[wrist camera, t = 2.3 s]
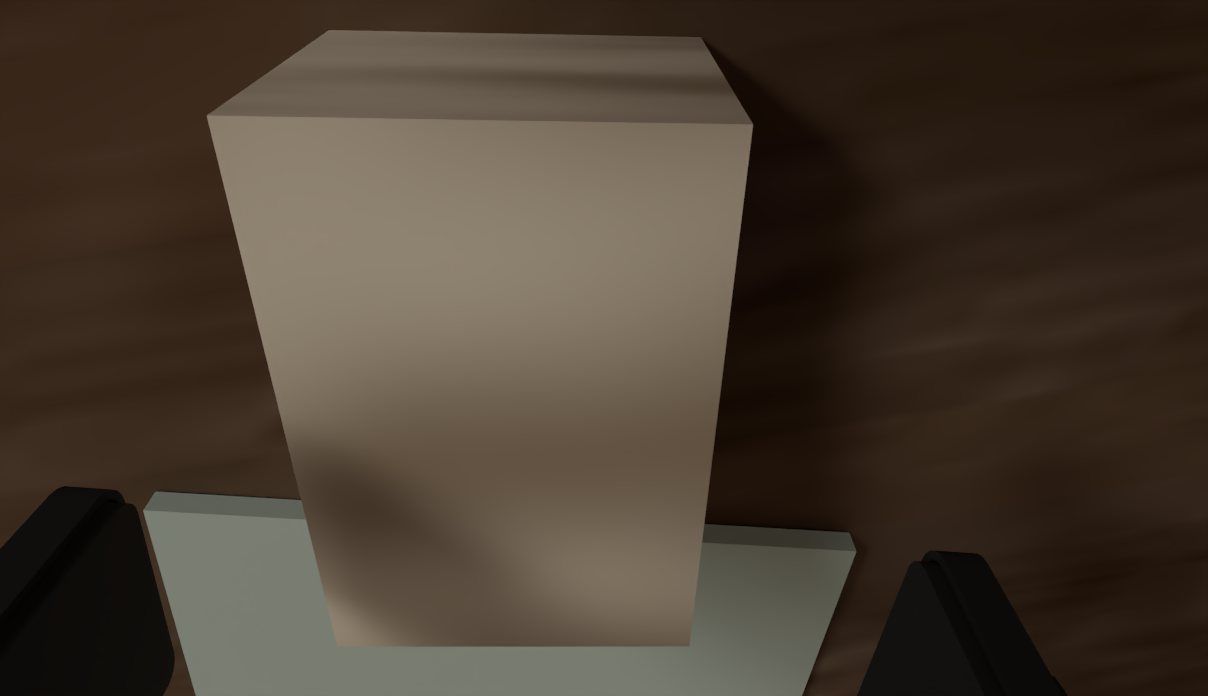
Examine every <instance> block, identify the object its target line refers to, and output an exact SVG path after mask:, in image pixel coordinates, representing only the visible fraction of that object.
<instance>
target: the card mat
mask: <svg viewBox="0 0 1208 696" xmlns="http://www.w3.org/2000/svg"><path fill="white" fill-rule="evenodd" d="M143 512H144V515H145V519H146V522H147V526H148V529H149V533H150V536H151V540H152V543H153V547H154V550H155V554H156V557H157V561H158V564H159V568H160V571H161V575H162V578H163V582H164V585H165V589H166V592H167V596H168V599H169V603H170V607H171V610H172V614H173V617H174V621H175V624H176V628H177V631H178V635H179V638H180V642H181V645H182V649H183V652H184V656H185V659H186V663H187V666H188V670H189V673H190V677H191V680H192V684H193V687H194V691H195V694H196V696H802V694H803V692H804V689H805V687H806V684H807V681H808V679H809V676H810V673H811V671H812V668H813V665H814V663H815V660H816V657H817V655H818V652H819V649H820V647H821V644H822V642H823V639H824V636H825V634H826V631H827V628H828V626H829V623H830V620H831V618H832V615H833V612H834V610H835V607H836V604H837V602H838V599H839V597H840V594H841V591H842V589H843V586H844V583H845V581H846V578H847V575H848V573H849V570H850V567H851V565H852V562H853V559H854V557H855V554H856V552H857V551H856V549H855V546H854V544H853V541H852V538H851V536H850V533H847V532H830V531H814V530H797V529H780V528H763V527H746V526H729V525H712V524H704V531H703V539H702V547H701V555H700V563H699V571H698V580H697V588H696V596H695V604H694V612H693V620H692V629H691V637H690V645H689V646H660V647H337V644H336V640H335V636H334V632H333V627H332V623H331V619H330V615H329V611H328V607H327V603H326V599H325V595H324V591H323V587H322V583H321V579H320V575H319V570H318V566H317V562H316V558H315V554H314V550H313V546H312V542H311V538H310V534H309V530H308V526H307V522H306V518H305V513H304V509H303V505H302V501H301V500H291V499H274V498H257V497H240V496H223V495H207V494H190V493H173V492H155V493H154V495H153V496H152V498H151V499H150V501H149V502H148V504H147V505H146V507H145V508H144V510H143Z"/></svg>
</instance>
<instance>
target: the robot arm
mask: <svg viewBox="0 0 1208 696" xmlns="http://www.w3.org/2000/svg"><path fill="white" fill-rule="evenodd" d="M174 661H175V657H174V651H173V647H172V643H171V639H170V635H169V631H168V627H167V623H166V619H165V616H164V612H163V608H162V604H161V600H160V596H159V592H158V588H157V585H156V581H155V577H154V573H153V569H152V565H151V561H150V557H149V554H148V550H147V546H146V542H145V538H144V534H143V530H142V526H141V522H140V519H139V515H138V512H137V509H136V507H135V506H134V505H133V504H127V503H125V501H124V498H123V496H122V495H121V494H120V493H119V492H118V491H116V490H108V489H95V488H81V487H68V486H64V487H61V488H58V489H56V490H55V491H54V492H53V493H52V494H50V495H49V496H48V498H47V499H46V500H45V501H44V502H43V503H42V504H41V505H40V506H39V507H38V508H37V510H36V511H35V512H34V513H33V514H32V515H31V516H30V517H29V518H28V519H27V520H26V522H25V523H24V524H23V525H22V526H21V527H20V528H19V529H18V530H17V531H16V532H15V534H14V535H13V536H12V537H11V538H10V539H9V540H8V541H7V542H6V543H5V544H4V546H3V547H2V548H1V549H0V696H163V694H164V692H165V691H166V689H167V687H168V685H169V682H170V680H171V677H172V674H173V669H174ZM857 696H1067V694H1066V692H1065V691H1064V689H1063V688H1062V687H1061V685H1060V684H1059V683H1058V681H1057V680H1056V678H1054V677H1053V676H1052V675H1051V674H1050V672H1049V671H1048V669H1047V667H1046V665H1045V664H1044V662H1043V660H1042V658H1041V657H1040V655H1039V653H1038V651H1037V649H1036V648H1035V646H1034V644H1033V642H1032V641H1031V639H1030V637H1029V635H1028V634H1027V632H1026V630H1025V628H1024V627H1023V625H1022V623H1021V621H1020V620H1019V618H1018V616H1017V614H1016V613H1015V611H1014V609H1013V607H1012V606H1011V604H1010V602H1009V600H1008V599H1007V597H1006V595H1005V593H1004V592H1003V590H1002V588H1001V586H1000V585H999V583H998V581H997V579H996V578H995V576H994V574H993V572H992V571H991V569H990V567H989V565H988V564H987V562H986V561H985V560H984V558H983V557H981V556H980V555H978V554H973V553H959V552H946V551H929V552H928V553H926V554H925V556H924V557H923V559H922V561H921V562H919V561H914V562H913V563H911V565H910V566H909V568H908V570H907V573H906V575H905V578H904V580H903V583H902V585H901V588H900V590H899V593H898V595H897V598H896V600H895V603H894V605H893V608H892V610H891V613H890V615H889V618H888V620H887V623H886V625H885V628H884V630H883V633H882V635H881V638H880V640H879V643H878V645H877V648H876V650H875V653H874V655H873V658H872V660H871V663H870V665H869V668H868V670H867V673H866V675H865V678H864V680H863V683H862V685H861V688H860V690H859V693H858V695H857Z"/></svg>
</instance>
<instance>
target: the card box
mask: <svg viewBox="0 0 1208 696" xmlns="http://www.w3.org/2000/svg"><path fill="white" fill-rule="evenodd" d="M207 118H208V122H209V127H210V131H211V135H212V139H213V143H214V147H215V151H216V155H217V159H218V163H219V167H220V171H221V175H222V180H223V184H224V188H225V192H226V196H227V200H228V204H229V208H230V212H231V216H232V220H233V224H234V228H235V232H236V237H237V241H238V245H239V249H240V253H241V257H242V261H243V265H244V269H245V273H246V277H247V281H248V285H249V289H250V294H251V298H252V302H253V306H254V310H255V314H256V318H257V322H258V326H259V330H260V334H261V338H262V342H263V346H264V351H265V355H266V359H267V363H268V367H269V371H270V375H271V379H272V383H273V387H274V391H275V395H276V399H277V403H278V408H279V412H280V416H281V420H282V424H283V428H284V432H285V436H286V440H287V444H288V448H289V452H290V456H291V461H292V465H293V469H294V473H295V477H296V481H297V485H298V489H299V493H300V497H301V501H302V505H303V509H304V513H305V518H306V522H307V526H308V530H309V534H310V538H311V542H312V546H313V550H314V554H315V558H316V562H317V566H318V570H319V575H320V579H321V583H322V587H323V591H324V595H325V599H326V603H327V607H328V611H329V615H330V619H331V623H332V627H333V632H334V636H335V640H336V644H337V647H660V646H689V645H690V637H691V629H692V620H693V612H694V604H695V596H696V588H697V580H698V571H699V563H700V555H701V547H702V539H703V531H704V522H705V514H706V506H707V498H708V490H709V481H710V473H711V465H712V457H713V449H714V441H715V432H716V424H717V416H718V408H719V400H720V391H721V383H722V375H723V367H724V359H725V351H726V342H727V334H728V326H729V318H730V310H731V302H732V293H733V285H734V277H735V269H736V261H737V252H738V244H739V236H740V228H741V220H742V212H743V203H744V195H745V187H746V179H747V171H748V162H749V154H750V146H751V138H752V130H753V123H752V122H751V120H750V118H749V117H748V115H747V113H746V112H745V110H744V108H743V107H742V105H741V103H740V102H739V100H738V98H737V97H736V95H735V93H734V92H733V90H732V88H731V87H730V85H729V83H728V82H727V80H726V78H725V77H724V75H723V73H722V72H721V70H720V68H719V67H718V65H717V63H716V62H715V60H714V58H713V57H712V55H711V53H710V52H709V50H708V48H707V47H706V45H705V43H704V42H703V40H702V38H701V37H658V36H605V35H552V34H499V33H446V32H394V31H341V30H329V31H327V32H326V33H324V34H323V35H322V36H320V37H319V38H317V39H316V40H314V41H313V42H311V43H310V44H309V45H307V46H306V47H304V48H303V49H301V50H300V51H299V52H297V53H296V54H294V55H293V56H291V57H290V58H289V59H287V60H286V61H284V62H283V63H281V64H280V65H279V66H277V67H276V68H274V69H273V70H271V71H270V72H269V73H267V74H266V75H264V76H263V77H261V78H260V79H258V80H257V81H256V82H254V83H253V84H251V85H250V86H248V87H247V88H246V89H244V90H243V91H241V92H240V93H238V94H237V95H236V96H234V97H233V98H231V99H230V100H228V101H227V102H226V103H224V104H223V105H221V106H220V107H218V108H217V109H215V110H214V111H213V112H211V113H210V114H208V115H207Z"/></svg>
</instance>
